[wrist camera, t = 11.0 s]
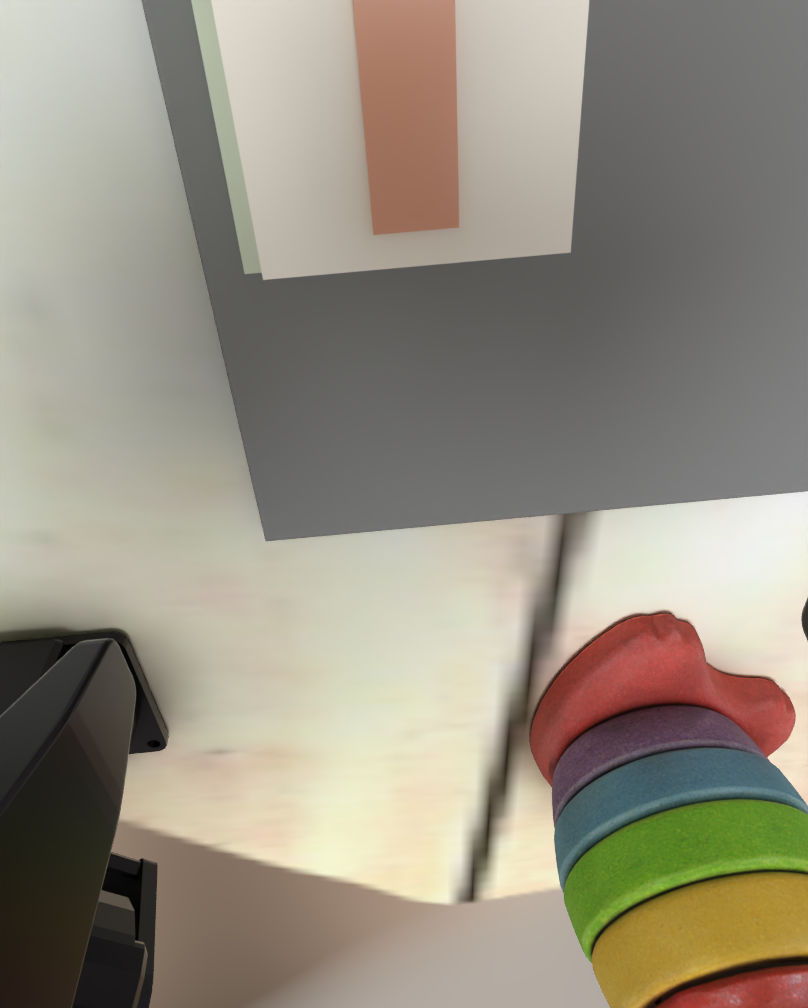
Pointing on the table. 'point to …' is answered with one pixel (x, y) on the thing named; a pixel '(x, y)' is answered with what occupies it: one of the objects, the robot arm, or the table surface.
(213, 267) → the mat
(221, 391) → the table surface
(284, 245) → the box
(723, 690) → the stacking bear
